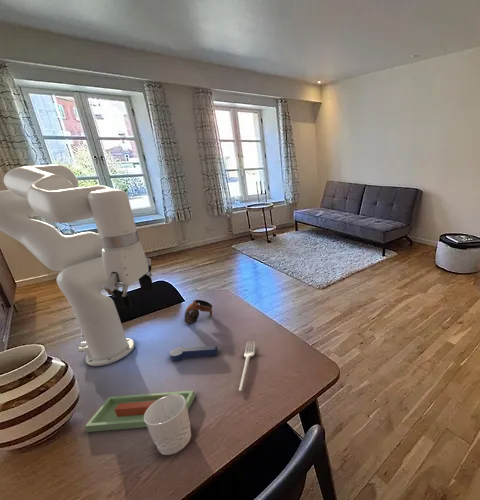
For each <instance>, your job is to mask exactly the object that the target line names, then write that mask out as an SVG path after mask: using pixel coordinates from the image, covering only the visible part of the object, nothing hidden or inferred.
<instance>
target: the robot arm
mask: <svg viewBox="0 0 480 500" xmlns="http://www.w3.org/2000/svg"><path fill="white" fill-rule="evenodd" d="M3 184H4V186H5V187H6V188H7V189H4V190H0V231H1V232H2V233H4V234H6V235H7V236H9V237H10V238H12V239H14V240H16V241H17V242H19V243H20V244H21V245H23V246H24V247H25V248H26V249H27V250H28V251H29V252H30V253H31V254H32V255H33V256H34V257H35V258H36V259H37V260H38V261H39V262H40V263H42V264H43V266H45V267H46V268H48V269H49V270H51V271H54V272H59V273H58V274H57V276H56V284H57V286H58V288H59V290H60V291H61V292H62V294H63V295H64V297H65V298H66V300H67V302H68V303H69V305H70V307H71V309H72V312H73V314H74V316H75V320H76V321H77V324H78V327H79V328H80V331H81V334H82V336H83V338H84V341H81V342H79V345H78V346H79V347H78V349H77V352H78V353H84V352H85V353H86V356H85V362H86V364H87V365H88V366H91V367H100V366H107V365H109V364H112V363H116V362H117V361H120V360H121V359H123V358H125V357H126V356H127V355H129V354H131V352H132V351H133V350H134V348H135V342H134V340H133V339H132V338H129V337H127V335H126V333H125V329H124V327H123V324H122V321H121V318H120V315H119V312H118V310H132V309H133V304H132V301H131V297H130V295H129V294H127V293H128V289H129V287H130V286H132V285H133V284H134V283H135V282H137V281H138V283H139V286H140V290H141V291H142V292H148V291H150V292H151V291H154V289H155V287H154V284H153V279H152V275H153V274H152V258H150V257H147V256H146V253H145V251H144V250H145V249H144V248H143V246H142V242H141V241H140V238H139V233H138V230H137V225H136V222H135V219H134V215H133V211H132V207H131V203H130V199H129V196H128V194H127V192H126V191H125V190H123V189H119V188H112V187H108V186H107V185H91V186H90V185H89V186H81V187H79V185H80V184H79V179H78V177H77V175H76V174H75V172H74V171H73V170H72V169H71V168H69V167H67V166H65V165H62V164H45V165H27V166H19V167H15V168H12V169H10V170H9V171H7V172H6V173H5V174H4V177H3ZM37 216H38V217H40V218H42V219H44V220H47V221H50V222H53V223H56V224H57V223H58V224H68V223H69V224H70V223H74V222H79V221H84V220H88V219H92V218H93V220H94V223H95V226H96V228H97V230H96V231H97V233H96V232H94V231H85V232H80V233H76V234H71V235H64V234H63V233H62V232H60V231H59V230H58V229H57V228H56V227H55V226H53V225H51V224H49V223H47V222H44V221H41V220H38V219H34V218H32V217H37ZM120 288H121V290H120ZM103 290H104V291H106V292H107V295H106V294H103V293H101V292H102V291H103ZM110 296H111V297H112V298H114V299H115V301H114V299H112V298H111V297H110ZM115 303H116V304H115ZM116 305H117V307H116ZM117 309H118V310H117Z"/></svg>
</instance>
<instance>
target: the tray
mask: <svg viewBox="0 0 480 500" xmlns="http://www.w3.org/2000/svg"><path fill="white" fill-rule="evenodd" d="M172 394H178V395H182V396H183V397H184V398H185V400H186V405H187V410H188V411H189V409H190V407H191V405H192V404H193V401H194V399H195V397H196V393H195V390H181V391H179V390H178V391H168V392H166V391H165V392H154V393H141V394H127V395H116V396H115V395H114V396H109V397H108V398H107V399H106V400H105V401H104V403H103V404H102V405H101V406H100V407H99V408H98V410H97V411H96V412H95V413H94V414H93V416H92V417H91V418H90V419H89V421H88V422H87V423H86V424H85V426H84V428H85V430H86V432H87V433H91V432H92V433H93V432H103V431H105V432H106V431H117V430H126V429H127V430H129V429H139V428H141V429H142V428H147V426H146V423H145V421H144V415H134V416H122V417H117V415H116V412H115V410H114V409H115V408H116V407H117V406H118V404H121V403H133V402H146V401H157V400H158V399H160V398H162V397H165V396H168V395H172Z"/></svg>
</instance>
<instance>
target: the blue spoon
mask: <svg viewBox="0 0 480 500" xmlns="http://www.w3.org/2000/svg"><path fill="white" fill-rule="evenodd" d="M218 353H219V349H218V346H217V345H209V346H208V345H207V346H195V347H194V346H192V347H191V346H190V347H185V346H177V347H174V348H173V349H171V350H170V352H169V357H170V360H171V362H178V361H182V360H183V359H189V358H202V357H216V356H217V354H218Z"/></svg>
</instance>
